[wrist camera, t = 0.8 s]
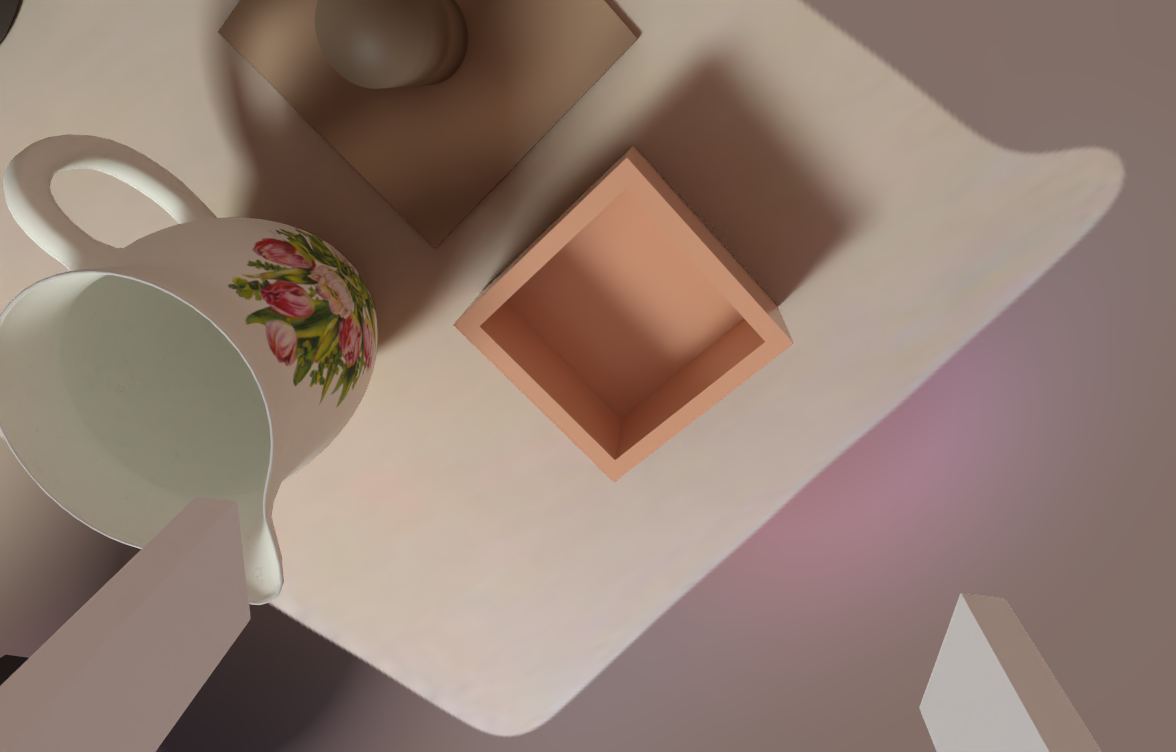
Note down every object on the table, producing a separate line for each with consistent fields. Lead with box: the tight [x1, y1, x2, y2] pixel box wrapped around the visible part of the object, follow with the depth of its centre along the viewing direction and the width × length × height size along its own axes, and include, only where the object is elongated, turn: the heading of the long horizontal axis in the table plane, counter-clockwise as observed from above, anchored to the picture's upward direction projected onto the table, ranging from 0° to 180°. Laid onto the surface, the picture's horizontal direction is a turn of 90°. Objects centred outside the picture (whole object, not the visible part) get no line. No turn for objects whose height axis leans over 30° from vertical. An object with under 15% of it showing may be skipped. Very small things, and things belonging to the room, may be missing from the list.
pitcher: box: [0, 135, 378, 605], centre depth 31 cm, size 11×18×14 cm, turn 31°
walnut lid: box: [218, 0, 637, 248], centre depth 30 cm, size 13×13×7 cm
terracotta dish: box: [454, 145, 793, 482], centre depth 34 cm, size 10×10×5 cm
